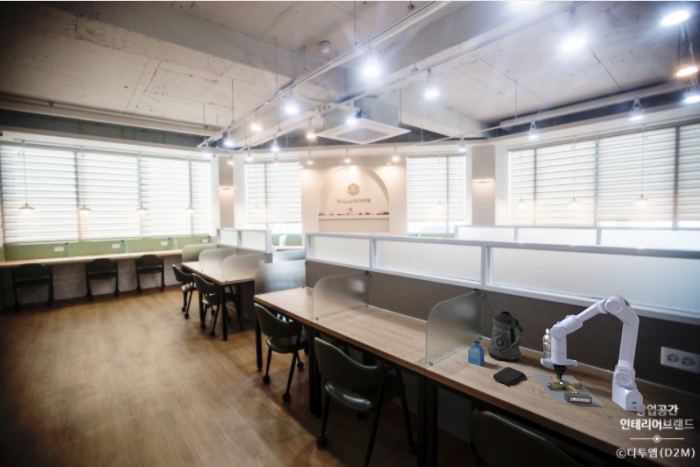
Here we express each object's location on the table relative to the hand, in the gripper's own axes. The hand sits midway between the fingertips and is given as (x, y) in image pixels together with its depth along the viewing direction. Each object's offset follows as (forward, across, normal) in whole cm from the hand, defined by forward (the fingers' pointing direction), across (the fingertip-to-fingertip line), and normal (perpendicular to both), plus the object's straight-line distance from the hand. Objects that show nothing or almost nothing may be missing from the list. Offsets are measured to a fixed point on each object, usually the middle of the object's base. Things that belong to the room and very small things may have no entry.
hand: (558, 379), depth 139 cm
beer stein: (+2, +14, -25) cm, 29 cm away
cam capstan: (+1, 0, +5) cm, 5 cm away
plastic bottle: (+2, -3, -15) cm, 15 cm away
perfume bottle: (+2, +32, -17) cm, 36 cm away
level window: (+1, 0, +15) cm, 15 cm away
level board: (+2, 0, +5) cm, 5 cm away
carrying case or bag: (+2, +20, -1) cm, 21 cm away
